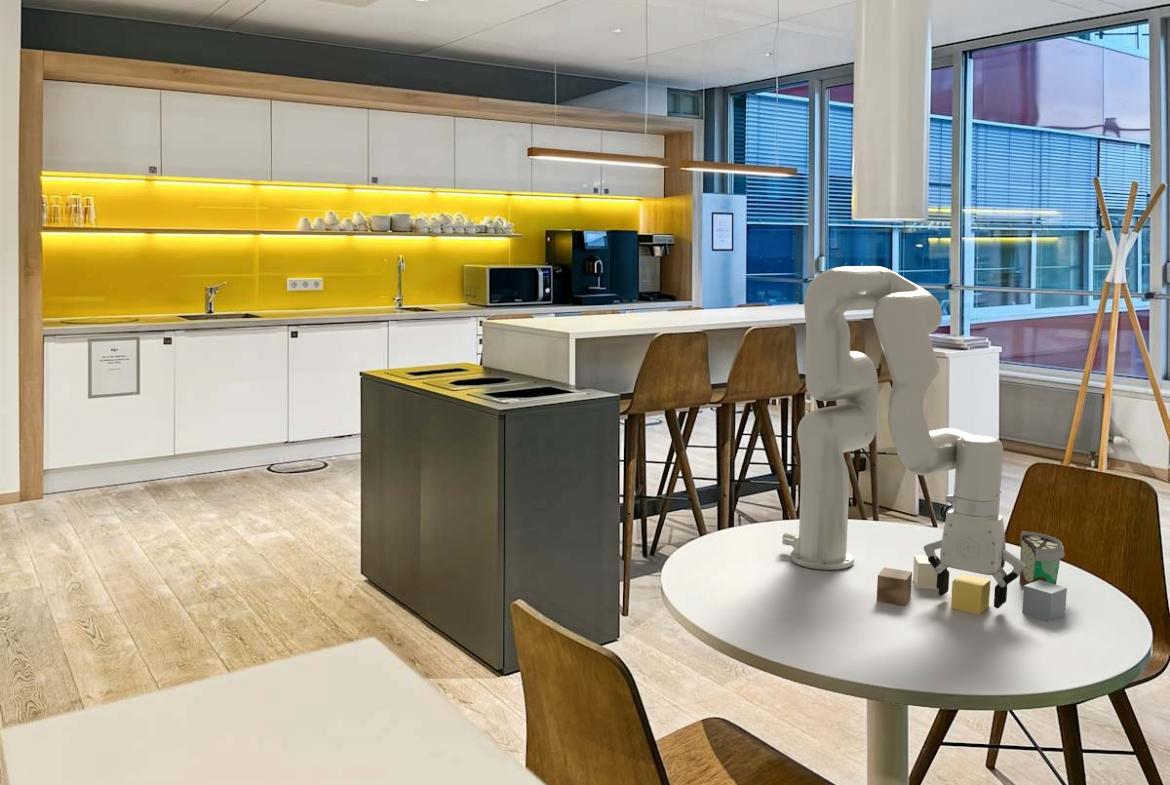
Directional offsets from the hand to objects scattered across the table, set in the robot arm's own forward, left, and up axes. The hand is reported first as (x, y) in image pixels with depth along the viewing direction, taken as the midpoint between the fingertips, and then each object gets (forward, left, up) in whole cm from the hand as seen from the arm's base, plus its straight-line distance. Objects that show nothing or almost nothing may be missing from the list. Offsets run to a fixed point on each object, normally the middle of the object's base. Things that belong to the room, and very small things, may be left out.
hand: (970, 599), depth 175 cm
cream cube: (-10, +7, -2) cm, 12 cm away
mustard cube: (0, 0, -2) cm, 2 cm away
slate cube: (+11, +5, -2) cm, 12 cm away
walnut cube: (-12, -5, -2) cm, 13 cm away
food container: (+8, +16, -2) cm, 18 cm away
